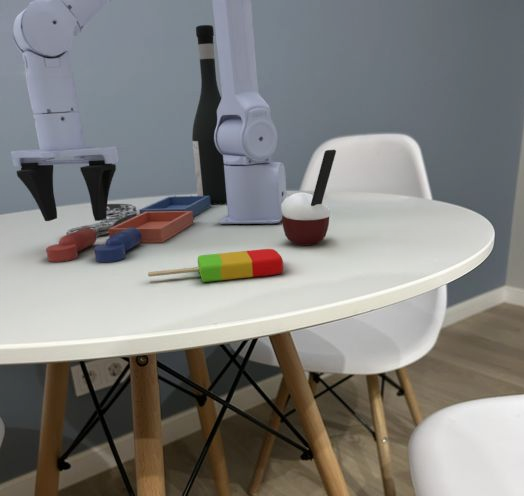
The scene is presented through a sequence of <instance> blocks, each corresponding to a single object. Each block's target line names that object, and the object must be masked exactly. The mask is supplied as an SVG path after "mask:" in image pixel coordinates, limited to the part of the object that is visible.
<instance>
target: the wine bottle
mask: <svg viewBox="0 0 524 496" xmlns="http://www.w3.org/2000/svg"><path fill="white" fill-rule="evenodd" d="M214 31H215V30H214V26H213V25H211V24H201V25H200V24H199V25H197V26H196V27H195V34H196V35H195V36H196V38H197V46H198V56H199V57H198V58H199V68H200V79H201V81H200V82H201V87H200V95H199V101H198V105H197V109H196V112H195V116H194V120H193V125H192V136H191V138H192V139H191V142H192V153H193V162H194V172H195V181H196V183H195V184H196V192H197V196H210V203H211V205H223V204H227V197H226V184H225V172H224V162H223V155H222V154H221V153H220V152H219V151H218V149H217V148H216V145H215V141H214V133H215V129H216V126H217V109H218V106H219V104H220V101H221V99H222V95H221V93H220V90H219V86H218V82H217V81H218V80H217V73H216V59H215V58H216V57H215V45H214V36H215V34H214V33H215V32H214Z"/></svg>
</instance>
